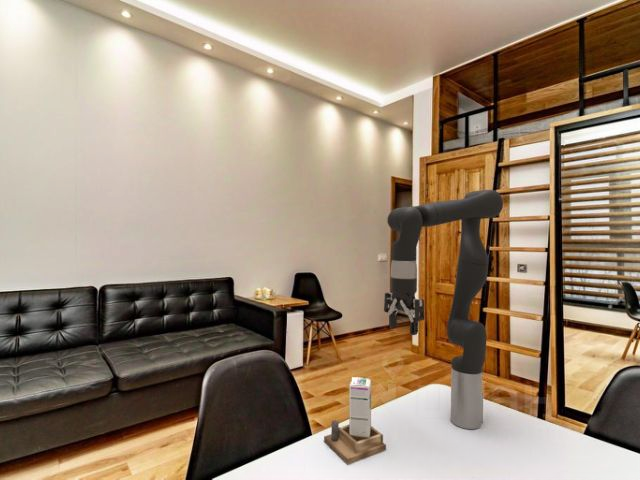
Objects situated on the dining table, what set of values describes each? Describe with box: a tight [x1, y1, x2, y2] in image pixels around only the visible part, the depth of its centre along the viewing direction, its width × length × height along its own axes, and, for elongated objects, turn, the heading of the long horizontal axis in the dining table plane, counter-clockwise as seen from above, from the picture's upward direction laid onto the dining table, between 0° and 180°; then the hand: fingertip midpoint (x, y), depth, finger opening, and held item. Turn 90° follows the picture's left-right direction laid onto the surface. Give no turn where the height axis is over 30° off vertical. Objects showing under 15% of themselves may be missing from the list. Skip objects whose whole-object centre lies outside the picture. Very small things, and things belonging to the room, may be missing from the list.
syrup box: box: [348, 376, 372, 438], centre depth 103 cm, size 6×6×14 cm
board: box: [323, 419, 387, 465], centre depth 103 cm, size 13×12×6 cm
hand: (402, 331), depth 106 cm, fingers open, 8 cm apart
